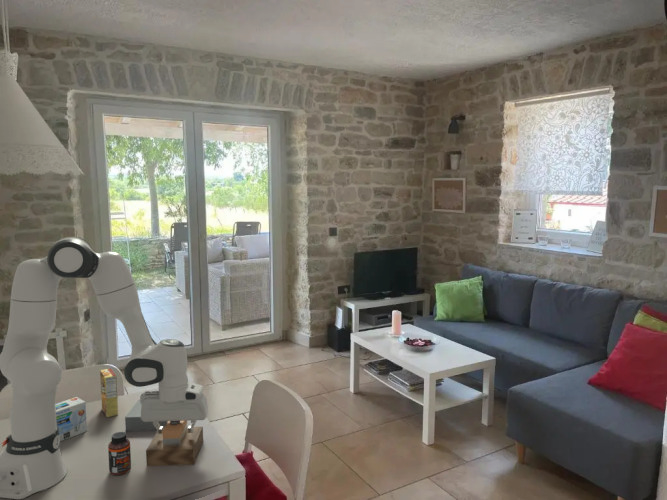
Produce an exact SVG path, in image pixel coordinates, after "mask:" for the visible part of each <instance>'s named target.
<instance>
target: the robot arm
mask: <svg viewBox="0 0 667 500" xmlns="http://www.w3.org/2000/svg"><path fill="white" fill-rule="evenodd" d="M63 278H64V279H88V281H90V283H91V286H92V287H93V288H92V289H93V291H94V294H95V298H96V300H97V302H98V305H99V307H100V308H101V310H102V311H103V313H104V315H106V316H107V317H109V318H112V319H116V320H118V321H119V322H120V323H121V324H122V326H123V328H124V330H125V332H126V335H127V336H128V339H129V342H130V345H131V354H130V357H129V358H128V361H127V363H126V365H125V367H124V369H123V375H124V378H125V380H126V381H127V383H128V384H130V385H131V386H133V387H137V388H143V387H148V386H151V385H155V384H158V390H155V391H153V390H152V391H149V390H148V391H147V390H146V391H144V392H142V393H141V394H140V396H139V400H140V403H141V404H142V406H141V419H142V421H143V422H151V421H153V425H154V426H155V428H156V429H157V430H156V433H157V434H162V431H163V426H160V424H159V423H158V422H159V421H187V422H188V421H190V425H188V426H187V427H188V433H193V431H194V427H195V425H196V423H197V421H204V420H205V419H206V418H207V417H208V415H209V404H208V401H207V397H206V395H205V394H204V390H205V389H204V386H203V385H202V384H198V383H195V382H191V381H189V378H188V373H187V371H188V363H189V362H188V354H187V349H186V346H185V344H184V343H183V342H182V341H180V340H177V339H172V338H165V339H162V340H160V341H158V343H157V342H156V341H155V340H154V339H153V337H152V334H151V333H150V330H149V328H148V325H147V322H146V320H145V317H144V314H143V312H142V308H141V303H140V298H139V293H138V290H137V289H138V288H137V285H136V283H135V279H134V277H133V275H132V272H131V269H130V268H129V266H128V264H127V262H126V261H125V259H124V257H123V256H122V255H121V253H119V252H116V251H103V252H99V253H98V252H95V251H94V250H93V249H92V246H91V245H90V244H89V242H88V241H86V240H85V239H83V238H81V237H77V236H67V237H62V238H59V239H58V240H56V241H55V242H54V243H53V244H52V246H51V247H50V249H49V250H48V252H47V255H45V257H43V258H30V259H27V260H24V261H21V262H20V263H19V264H18V265H17V267H16V271H15V273H14V277H13V281H12V285H11V291H10V292H11V293H10V304H9V306H10V307H9V319H8V327H7V328H8V329H7V332H6V336H5V340H4V343H3V347H2V351H1V352H0V372H1V374H2V376H3V377H5V378H6V379H7V380H8V381H9V382H10V384H11V386H12V403H11V407H10V409H9V411H8V412H9V424H10V431H11V432H10V434H9V435H8V436H7V437H6V439H5V440H3V442H2V443H1V447H2V448H3V447H5V446H6V447H5V448H4V449H3V450H2V451H1V452H0V498H3V499H12V500H13V499H14V500H22V499H25V498H27V497H29V496H31V495H33V494H35V493H38V492H41V491H44V490H47V489H49V488H51V487H53V486H56V485H57V484H59V482H61V481H62V480H63V479H64V478H65V476H66V475H67V472H68V470H67V468H66V465H65V463H64V461H63V457H62V454H61V450H60V446H61V441H60V437H59V428H58V426H57V421H56V407H55V404H56V398H57V392H58V385H59V384H60V382H61V380H62V377H63V371H62V367H61V365H60V364H59V361H58V360H57V358H56V357H54V356H53V355H52V354H50V353H49V352H48V348H47V347H48V342H49V339H50V337H51V333H52V331H53V330H54V329H55V328H56V317H57V306H58V304H57V303H58V290H59V286H60V281H61V280H62V279H63Z"/></svg>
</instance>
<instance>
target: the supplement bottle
mask: <svg viewBox="0 0 667 500" xmlns="http://www.w3.org/2000/svg"><path fill="white" fill-rule="evenodd" d="M110 440H111V441H110V442H108V447H107V448H108V452H107V453H108V469H109V470H108V471H109V474H111V475H112V476H122V475H125V474H127V473H128V472H129V471H130V470H131V468H132V457H131V455H132V454H131V453H132V452H131V441H130V439H129V438H127V433H126V432H125V431H118V432H117V431H116V432H115V433H113V434H112V435H111V438H110Z"/></svg>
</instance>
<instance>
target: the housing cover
mask: <svg viewBox="0 0 667 500" xmlns="http://www.w3.org/2000/svg"><path fill="white" fill-rule="evenodd" d="M186 424H187V425H188V421H168V422H167V424H166V426H165V428H164V429H163V431H162V433H163V439H176V438H180V436H181V434H182V432H183V430H184V428H185V426H186Z"/></svg>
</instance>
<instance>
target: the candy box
mask: <svg viewBox="0 0 667 500" xmlns="http://www.w3.org/2000/svg"><path fill="white" fill-rule="evenodd" d="M99 373H100V374H99V375H100V394H101V396H100V397H101V409H102V411H103V413H104V414H105V417H106V418H110V417H114V416H118V415H119V406H118V405H119V402H118V384H117V383H118V381H117V380H118V378H117V377H118V376H117V375H116V373H115V372H114V370H113V369H112V368H104V369H100V370H99Z"/></svg>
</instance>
